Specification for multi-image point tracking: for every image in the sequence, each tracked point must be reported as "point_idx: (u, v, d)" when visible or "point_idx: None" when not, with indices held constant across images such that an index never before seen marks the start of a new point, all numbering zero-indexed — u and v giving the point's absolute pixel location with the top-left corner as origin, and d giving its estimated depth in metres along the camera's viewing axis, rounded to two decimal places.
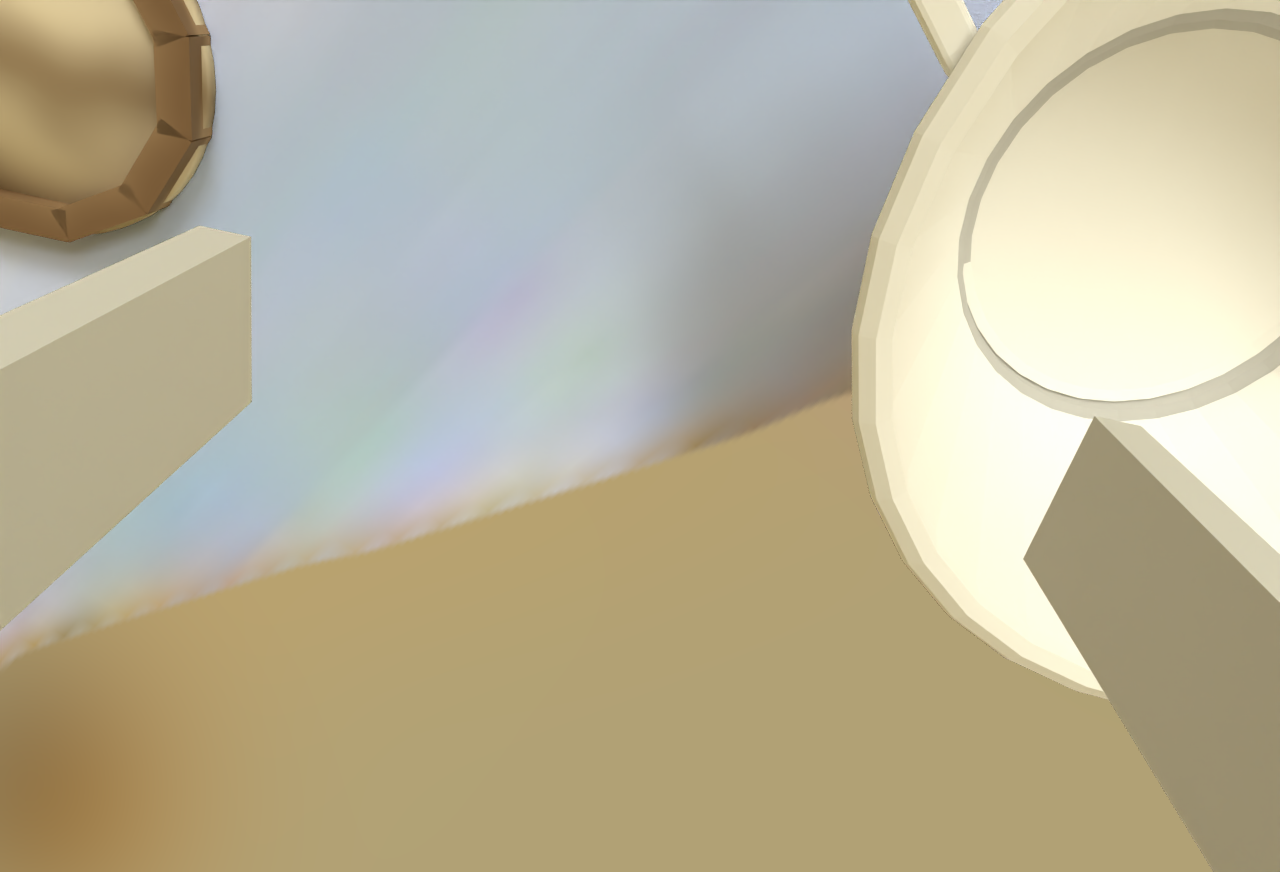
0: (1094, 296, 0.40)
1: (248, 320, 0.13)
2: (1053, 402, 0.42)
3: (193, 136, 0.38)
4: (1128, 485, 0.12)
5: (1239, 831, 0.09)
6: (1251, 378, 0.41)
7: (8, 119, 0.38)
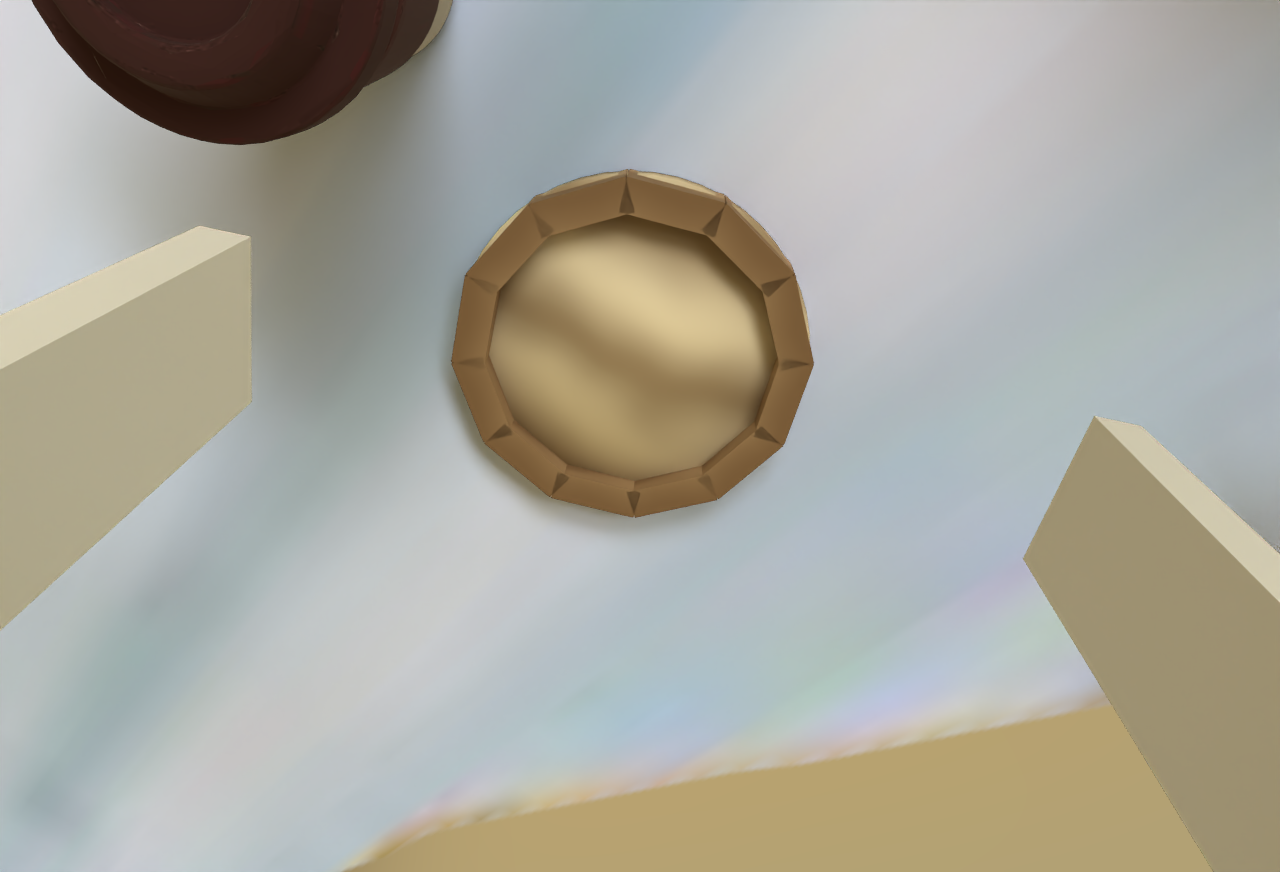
0: None
1: (248, 321, 0.13)
2: None
3: None
4: (1128, 485, 0.12)
5: (1239, 831, 0.09)
6: None
7: (600, 411, 0.41)
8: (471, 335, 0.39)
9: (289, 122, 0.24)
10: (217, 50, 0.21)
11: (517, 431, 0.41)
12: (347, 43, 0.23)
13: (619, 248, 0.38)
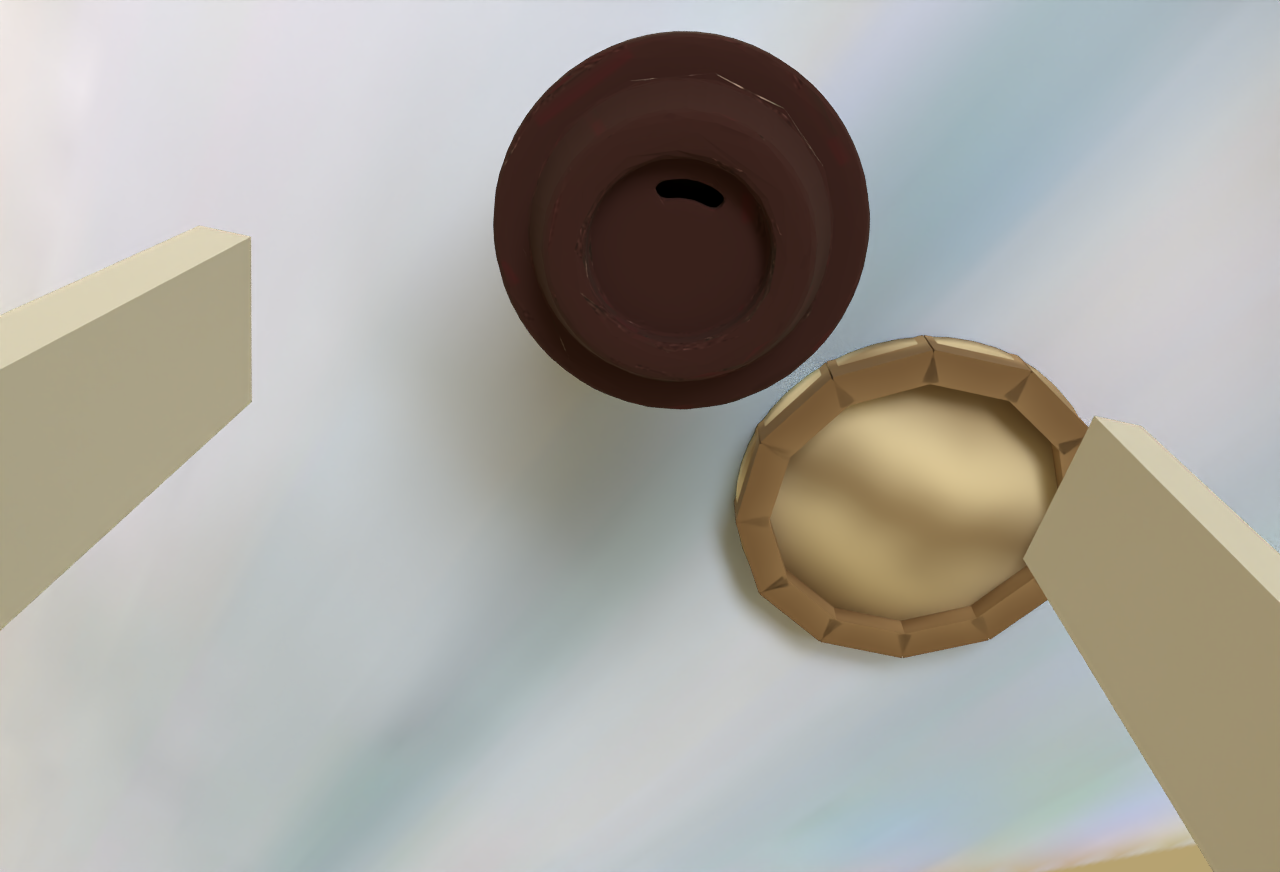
0: None
1: (248, 321, 0.13)
2: None
3: None
4: (1128, 485, 0.12)
5: (1239, 831, 0.09)
6: None
7: (873, 558, 0.42)
8: (759, 497, 0.39)
9: (742, 390, 0.24)
10: (715, 348, 0.22)
11: (792, 581, 0.42)
12: (816, 322, 0.23)
13: (910, 410, 0.38)
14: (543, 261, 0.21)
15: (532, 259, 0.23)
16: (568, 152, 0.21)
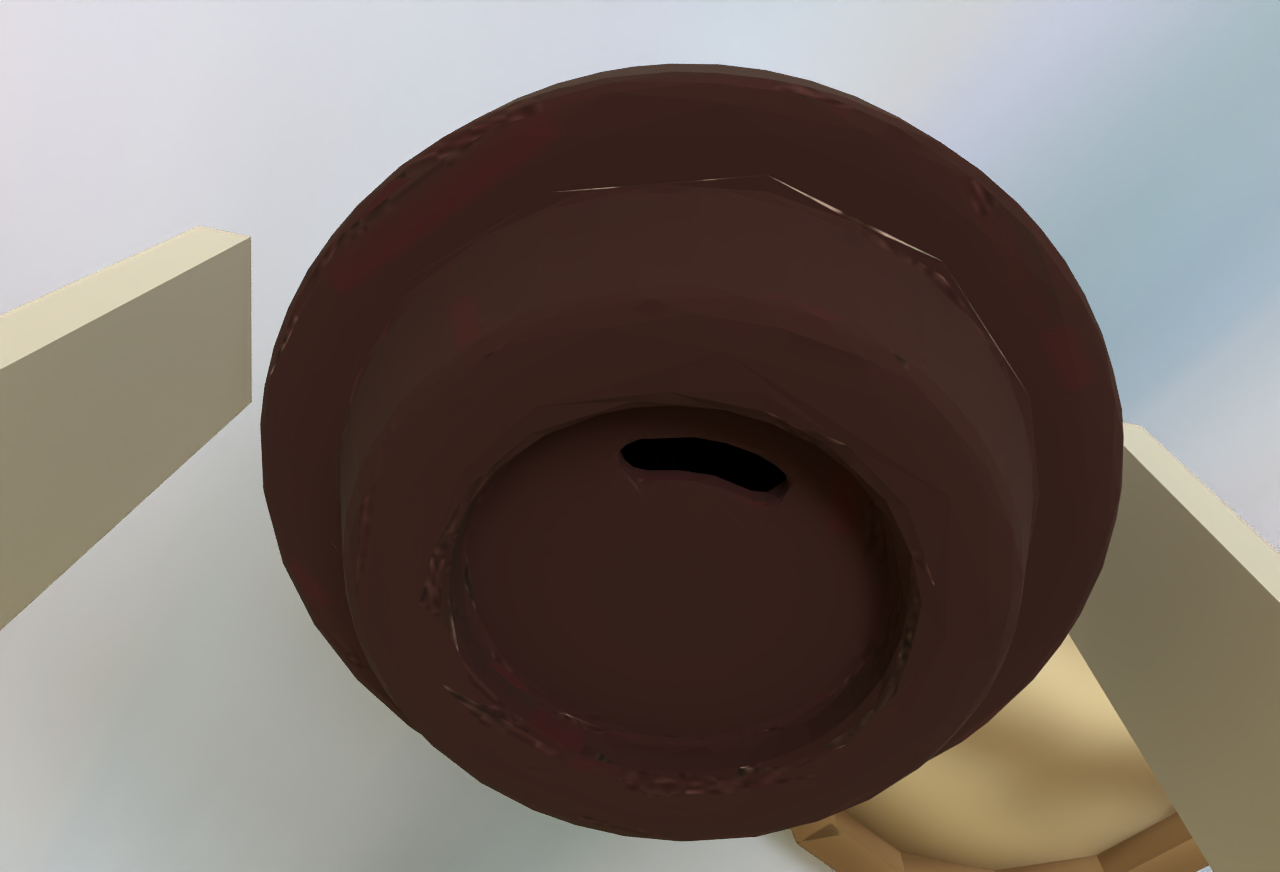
0: None
1: (247, 320, 0.13)
2: None
3: None
4: (1127, 485, 0.12)
5: (1239, 831, 0.09)
6: None
7: (961, 795, 0.29)
8: None
9: None
10: (760, 796, 0.10)
11: (844, 827, 0.29)
12: None
13: None
14: (351, 615, 0.09)
15: None
16: (397, 374, 0.08)
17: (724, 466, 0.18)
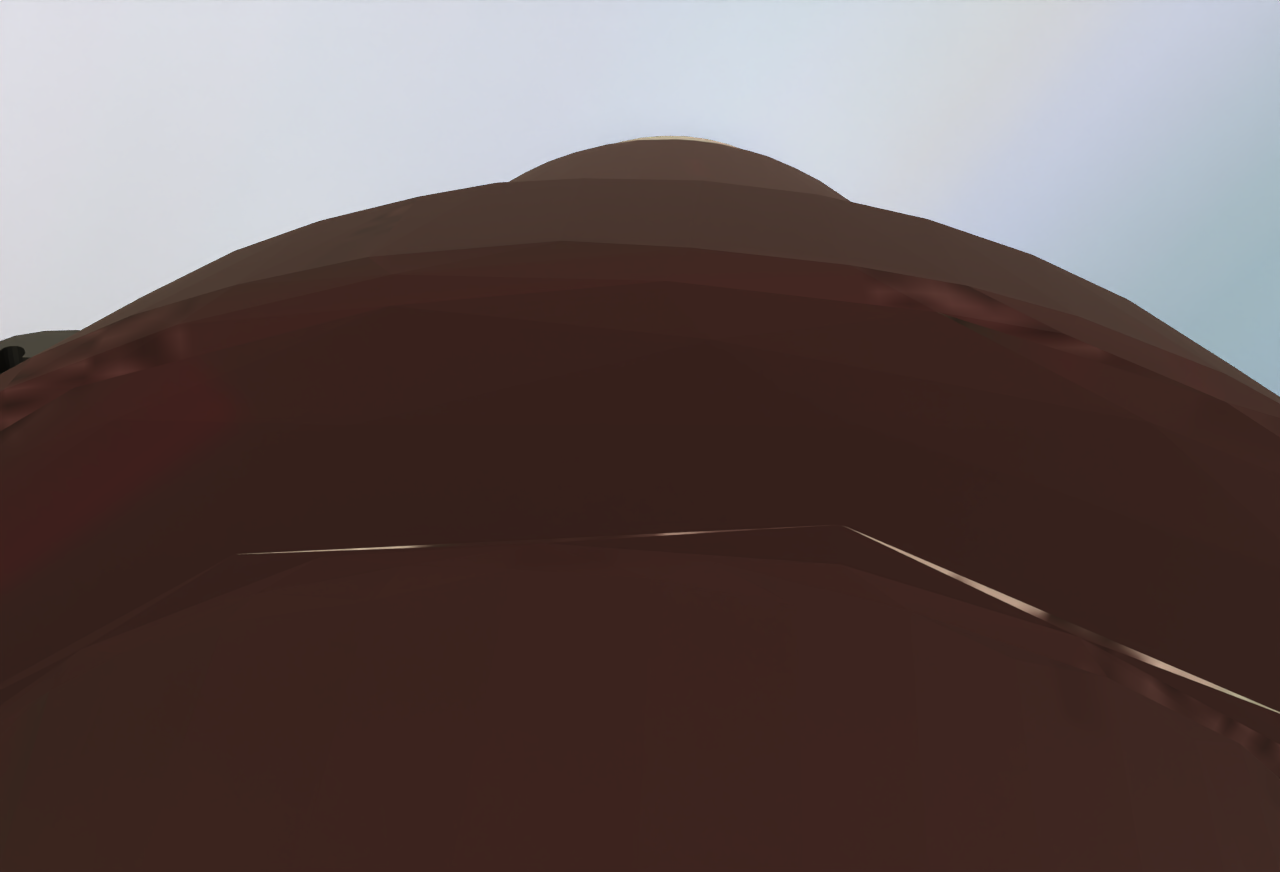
0: None
1: None
2: None
3: None
4: None
5: None
6: None
7: None
8: None
9: None
10: None
11: None
12: None
13: None
14: None
15: None
16: None
17: None
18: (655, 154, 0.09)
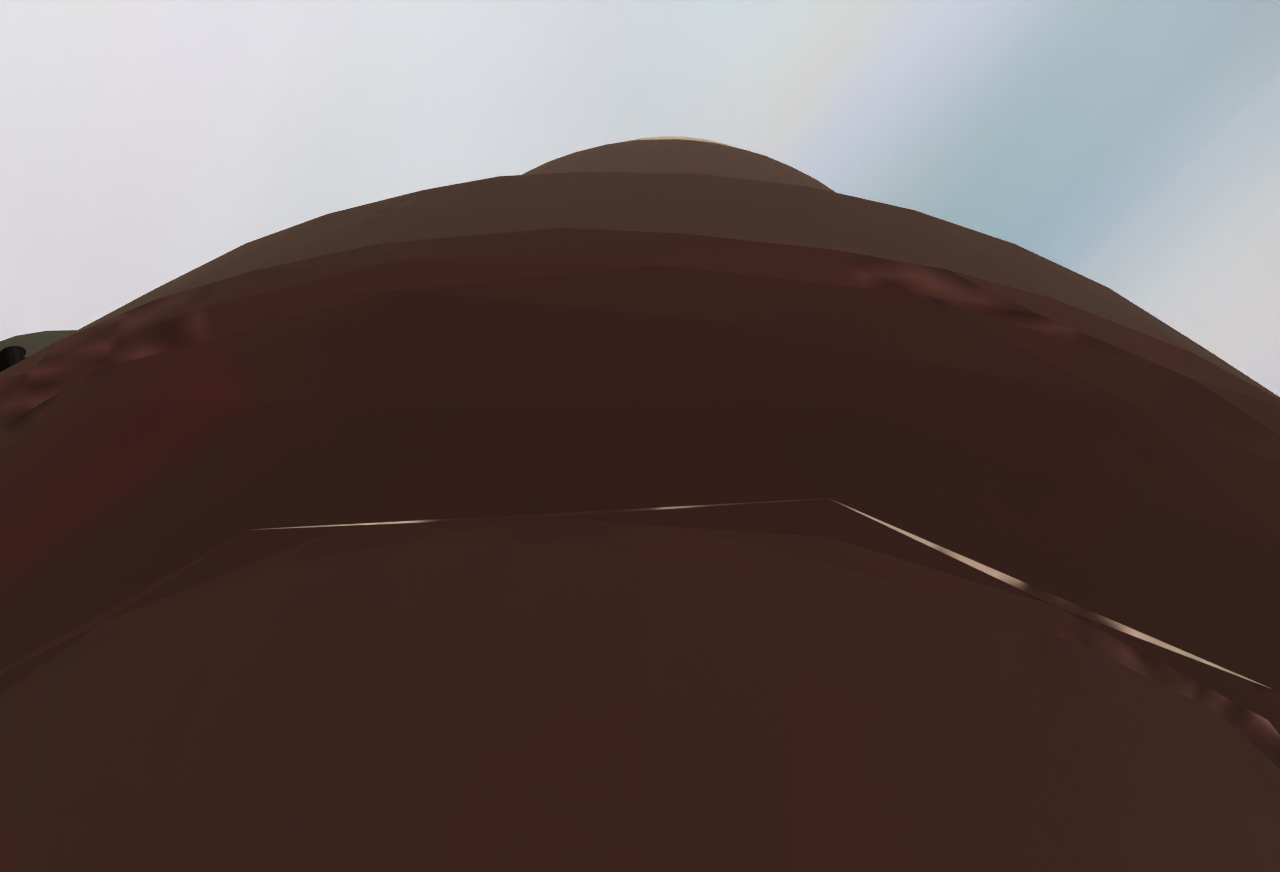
0: None
1: None
2: None
3: None
4: None
5: None
6: None
7: None
8: None
9: None
10: None
11: None
12: None
13: None
14: None
15: None
16: None
17: None
18: (654, 153, 0.09)
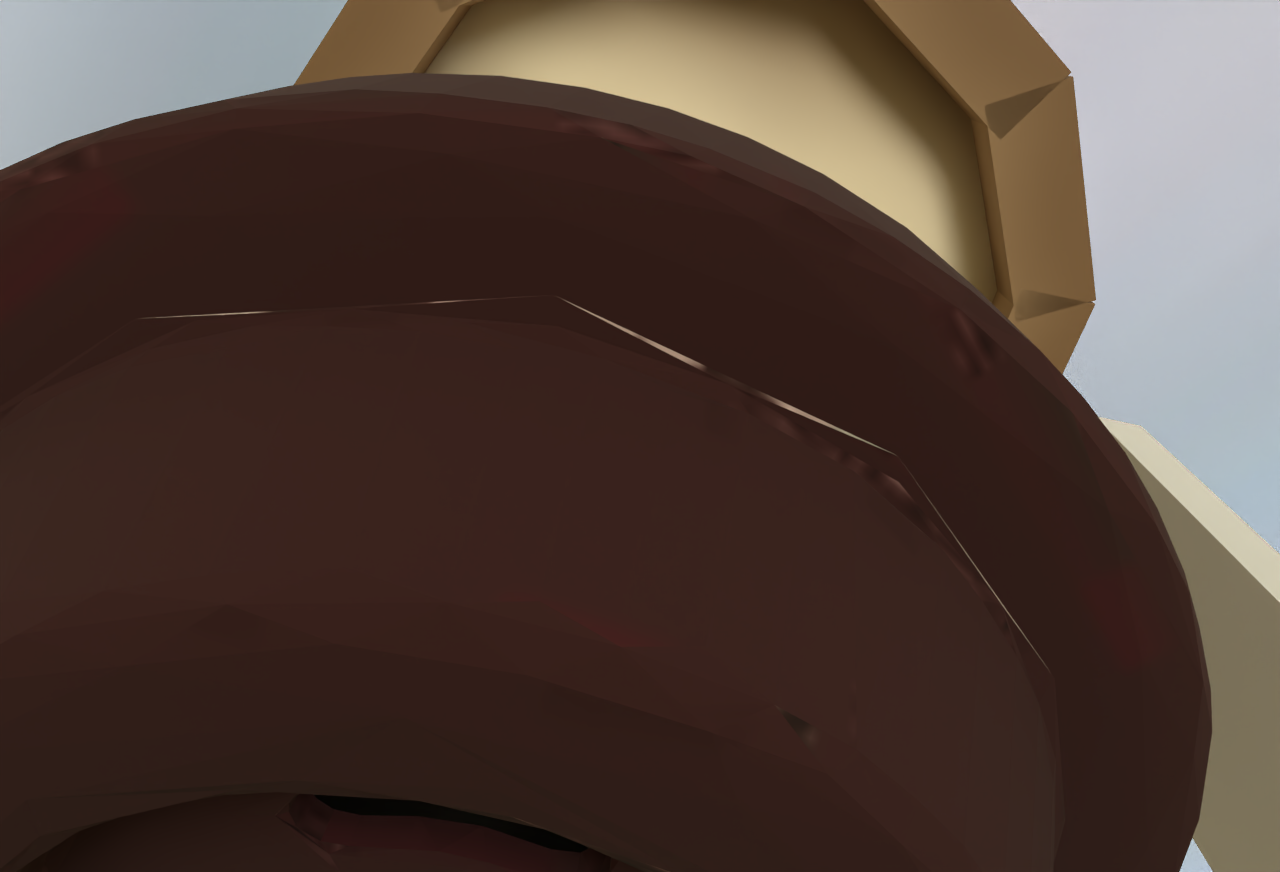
0: None
1: None
2: None
3: None
4: None
5: (1239, 831, 0.09)
6: None
7: None
8: None
9: None
10: None
11: None
12: None
13: (634, 42, 0.16)
14: None
15: None
16: None
17: None
18: None
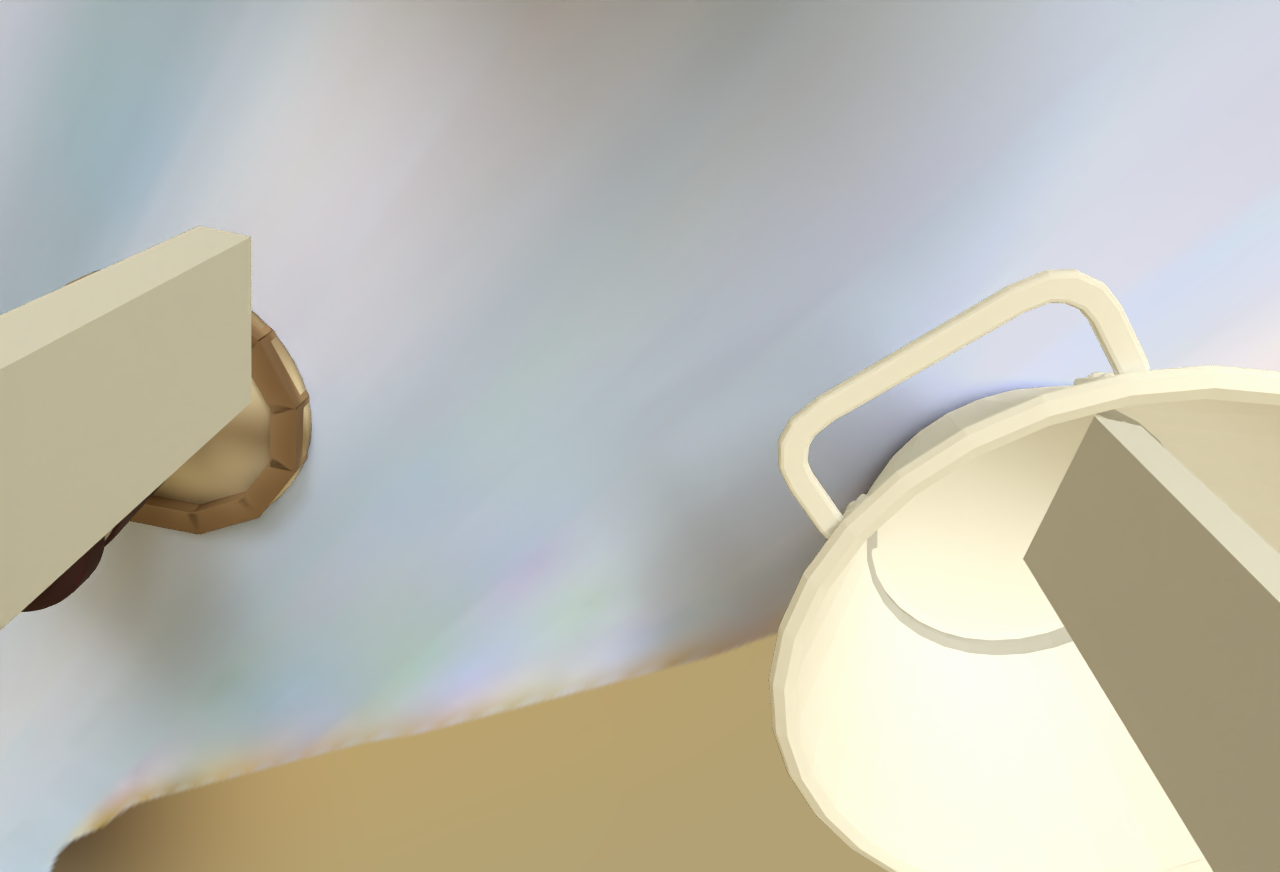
0: (972, 570, 0.53)
1: (248, 321, 0.13)
2: (945, 640, 0.55)
3: (296, 468, 0.51)
4: (1128, 486, 0.12)
5: (1239, 831, 0.09)
6: None
7: None
8: None
9: (43, 603, 0.40)
10: None
11: None
12: (69, 569, 0.39)
13: None
14: None
15: None
16: None
17: None
18: None
